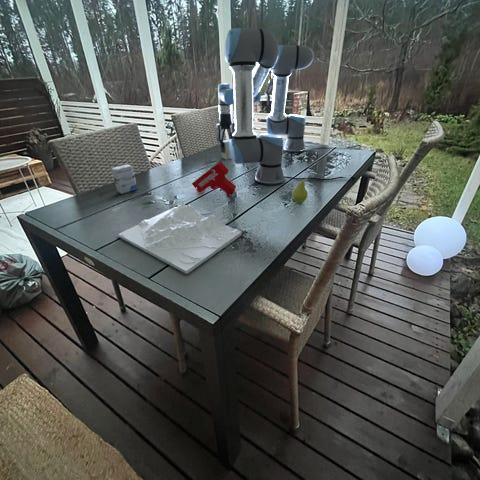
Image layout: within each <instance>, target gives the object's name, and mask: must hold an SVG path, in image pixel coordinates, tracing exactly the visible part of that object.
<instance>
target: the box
mask: <svg viewBox="0 0 480 480" xmlns="http://www.w3.org/2000/svg"><path fill="white" fill-rule="evenodd" d="M228 140H229V139H228ZM228 140H227V139H225V140H224V139H223V142H224V153H223V152H221V158H222V159H224V160H230V159H232V157H231V154H230V149H229V141H228Z"/></svg>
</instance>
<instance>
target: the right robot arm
mask: <svg viewBox="0 0 480 480" xmlns="http://www.w3.org/2000/svg"><path fill="white" fill-rule="evenodd" d="M314 58H315V54H314V51H313V49H312V48H311V47H309V46H306V45H303V44H298V45H297V44H291V45H289V44H287V45H286V44H284V45H283V44H281V45H279V57H278V60H277V62H276V64H275V66H274V67H273V68H271V69H270V71H271V75H270V77H271V79H268V80H267V85H266V87H265V90H264V92H263V94H264V95H265V97H266V98H265V99H266V106H270V105H271V111H270V113H268V116H266V131H267V134H274V135H278V136H286V140H285V142H284V144H283V152H287V153H288V152H289V153H303V152H305V151H306V148H305V147H308V145H307V146H306V145H305V141H304V138H305V129H306V117H305V116H303V115H300V114H295V113H290V114H288V116H287V114H286V113H285V110H286V102H287V95H288V87H289V77H291V75H292V74H293V71H300V70H304V69H307V68H308V67H309V66H311V64H312V63H313V61H314ZM271 93H272V99H271ZM271 100H272V101H271ZM346 147H347V148H346V149H353V148H357V147H359V148H362V146H361V145H360V144H357V145H353V146H352V145H351V146H346ZM303 149H305V150H303ZM300 150H303V151H300Z"/></svg>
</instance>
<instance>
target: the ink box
mask: <svg viewBox="0 0 480 480" xmlns="http://www.w3.org/2000/svg"><path fill="white" fill-rule="evenodd" d="M110 170H111V173H112V176H113V181H114V184H115V188H116V191H117V192H118V193H119V194H121V195H122V194H126V193H130V192H132V191H133V192H134V191H136V190H138V185H137V181H136V177H135V171H134V167H133V165H130V164H124V165H120V166H119V165H118V166H115V167H111V168H110Z"/></svg>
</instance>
